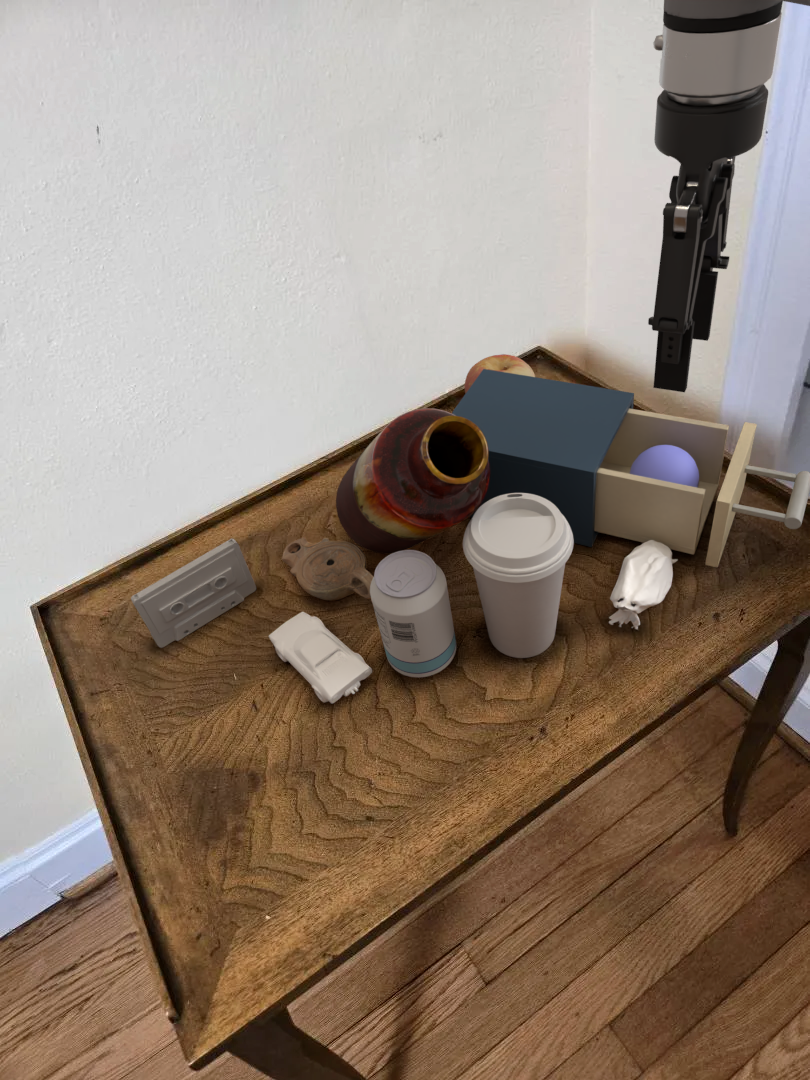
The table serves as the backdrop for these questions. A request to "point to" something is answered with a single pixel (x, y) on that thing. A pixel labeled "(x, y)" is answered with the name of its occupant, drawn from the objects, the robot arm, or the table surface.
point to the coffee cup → (519, 569)
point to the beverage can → (413, 613)
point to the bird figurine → (642, 581)
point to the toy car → (320, 657)
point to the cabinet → (546, 439)
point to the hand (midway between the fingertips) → (682, 361)
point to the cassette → (195, 593)
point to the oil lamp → (328, 568)
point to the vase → (414, 481)
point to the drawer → (678, 508)
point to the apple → (498, 367)
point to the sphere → (667, 465)
